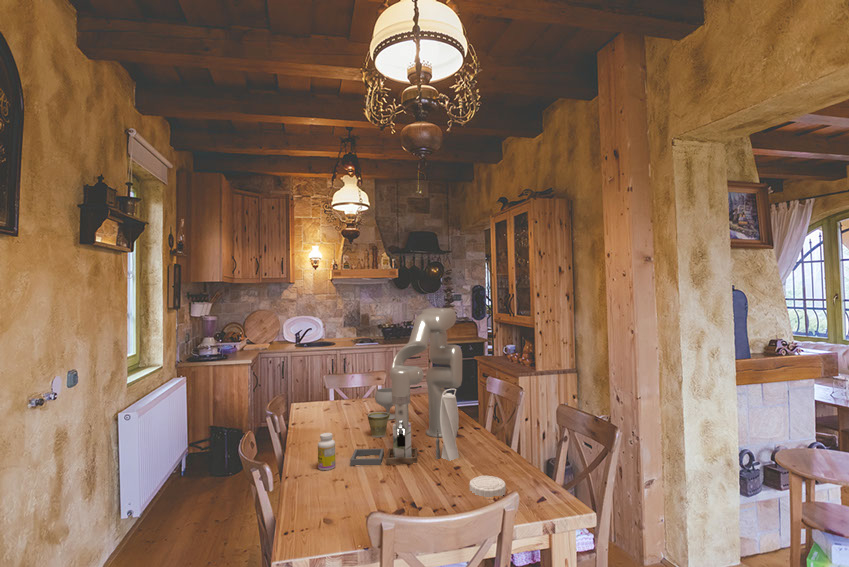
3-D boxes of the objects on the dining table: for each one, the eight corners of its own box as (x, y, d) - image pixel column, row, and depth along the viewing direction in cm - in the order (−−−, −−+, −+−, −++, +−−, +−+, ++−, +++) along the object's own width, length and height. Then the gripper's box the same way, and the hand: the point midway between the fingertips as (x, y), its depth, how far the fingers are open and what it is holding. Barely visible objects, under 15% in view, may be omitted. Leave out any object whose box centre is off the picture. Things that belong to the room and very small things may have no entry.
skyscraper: (449, 454, 183) (447, 387, 184) (464, 459, 177) (462, 389, 178) (434, 460, 177) (433, 390, 178) (449, 465, 171) (448, 393, 172)
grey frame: (383, 454, 184) (383, 448, 184) (381, 465, 172) (381, 459, 172) (355, 455, 184) (355, 449, 184) (350, 466, 172) (350, 459, 172)
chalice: (399, 420, 235) (399, 392, 235) (373, 421, 235) (373, 392, 235) (401, 413, 249) (401, 387, 249) (376, 414, 249) (376, 387, 249)
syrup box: (412, 457, 179) (411, 421, 180) (405, 462, 174) (404, 425, 174) (399, 456, 182) (398, 420, 182) (392, 461, 176) (392, 424, 177)
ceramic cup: (379, 440, 202) (378, 418, 203) (363, 436, 209) (363, 415, 209) (397, 433, 213) (397, 412, 213) (382, 429, 219) (381, 409, 219)
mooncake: (481, 503, 139) (481, 491, 139) (463, 488, 150) (462, 478, 150) (513, 495, 144) (512, 484, 144) (492, 482, 155) (492, 471, 155)
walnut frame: (417, 453, 184) (417, 447, 184) (416, 464, 172) (416, 458, 172) (388, 454, 184) (388, 448, 184) (386, 465, 172) (386, 458, 172)
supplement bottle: (316, 466, 172) (316, 433, 173) (333, 463, 175) (333, 430, 175) (319, 472, 166) (319, 438, 167) (337, 469, 169) (336, 435, 169)
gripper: (409, 404, 170) (410, 449, 169) (411, 394, 187) (411, 435, 187) (390, 405, 170) (391, 450, 169) (393, 395, 187) (394, 435, 187)
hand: (402, 442), depth 178 cm, fingers open, 9 cm apart
